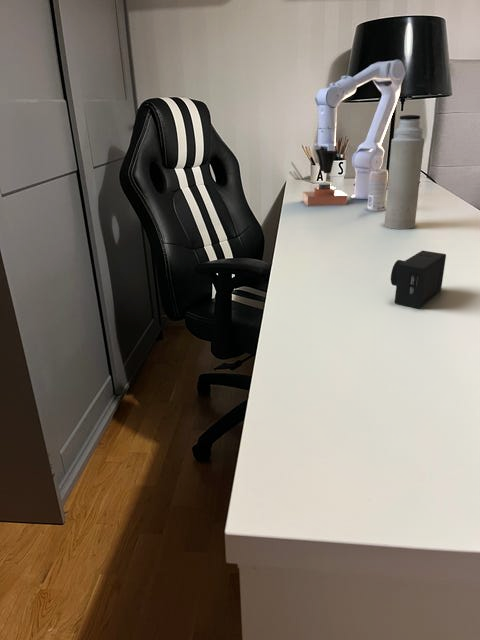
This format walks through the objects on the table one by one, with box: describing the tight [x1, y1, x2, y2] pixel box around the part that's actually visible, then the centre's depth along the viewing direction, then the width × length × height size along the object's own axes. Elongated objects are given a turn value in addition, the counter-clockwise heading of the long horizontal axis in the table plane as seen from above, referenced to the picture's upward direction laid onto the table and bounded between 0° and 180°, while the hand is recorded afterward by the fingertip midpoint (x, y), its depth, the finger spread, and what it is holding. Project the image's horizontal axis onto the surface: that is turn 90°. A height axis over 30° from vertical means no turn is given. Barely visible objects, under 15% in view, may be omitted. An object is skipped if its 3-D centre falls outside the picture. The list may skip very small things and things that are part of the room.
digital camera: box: [390, 250, 447, 310], centre depth 86 cm, size 10×5×7 cm, turn 141°
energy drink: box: [366, 168, 389, 212], centre depth 155 cm, size 5×5×12 cm
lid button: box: [318, 182, 332, 189], centre depth 168 cm, size 4×4×2 cm
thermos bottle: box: [383, 114, 425, 230], centre depth 131 cm, size 8×8×28 cm
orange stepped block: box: [302, 186, 348, 207], centre depth 169 cm, size 13×10×5 cm
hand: (325, 172), depth 166 cm, fingers open, 5 cm apart
